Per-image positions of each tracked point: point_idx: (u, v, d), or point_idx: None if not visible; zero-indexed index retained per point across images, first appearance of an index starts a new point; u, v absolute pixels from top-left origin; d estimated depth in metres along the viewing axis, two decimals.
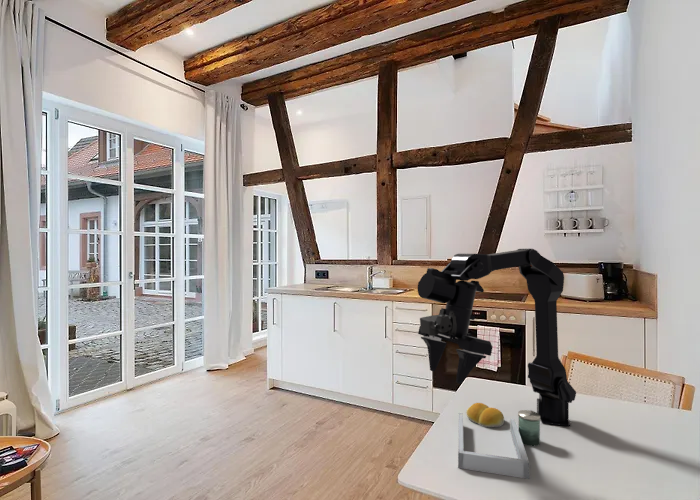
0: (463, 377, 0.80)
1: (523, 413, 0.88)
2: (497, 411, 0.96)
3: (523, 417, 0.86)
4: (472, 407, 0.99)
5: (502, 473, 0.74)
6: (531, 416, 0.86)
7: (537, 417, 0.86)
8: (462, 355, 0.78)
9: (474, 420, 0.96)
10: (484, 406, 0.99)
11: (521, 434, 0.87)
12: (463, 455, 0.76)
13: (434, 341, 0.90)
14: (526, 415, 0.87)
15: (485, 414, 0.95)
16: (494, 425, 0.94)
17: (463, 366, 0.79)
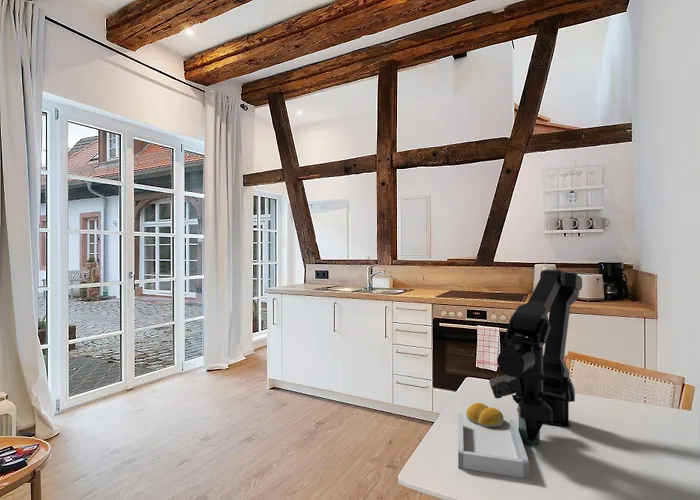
0: (533, 435, 0.84)
1: None
2: (497, 411, 0.96)
3: None
4: (472, 407, 0.99)
5: (502, 473, 0.74)
6: None
7: None
8: None
9: (474, 420, 0.97)
10: (484, 406, 0.99)
11: (521, 434, 0.87)
12: (463, 455, 0.76)
13: None
14: None
15: (484, 413, 0.96)
16: (494, 425, 0.94)
17: (528, 425, 0.84)
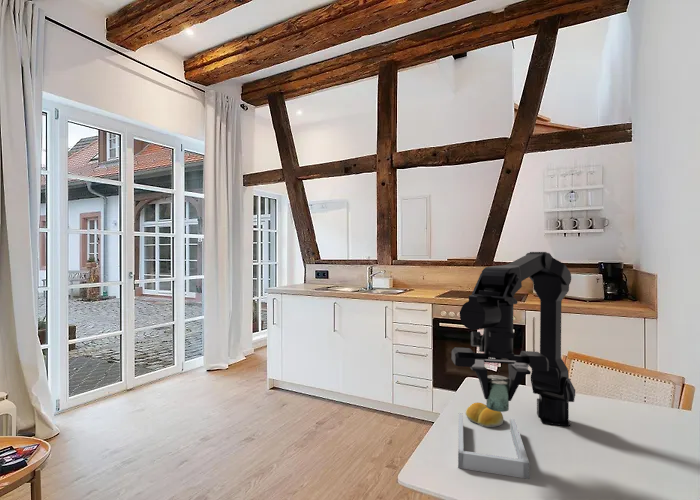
0: (483, 392, 0.81)
1: (496, 376, 0.83)
2: (496, 411, 0.96)
3: None
4: (471, 407, 0.99)
5: (502, 473, 0.74)
6: (492, 378, 0.81)
7: (493, 380, 0.80)
8: None
9: (473, 420, 0.97)
10: (483, 406, 0.99)
11: None
12: (463, 455, 0.76)
13: (511, 367, 0.82)
14: (492, 377, 0.82)
15: (484, 413, 0.96)
16: (493, 425, 0.94)
17: (479, 379, 0.83)
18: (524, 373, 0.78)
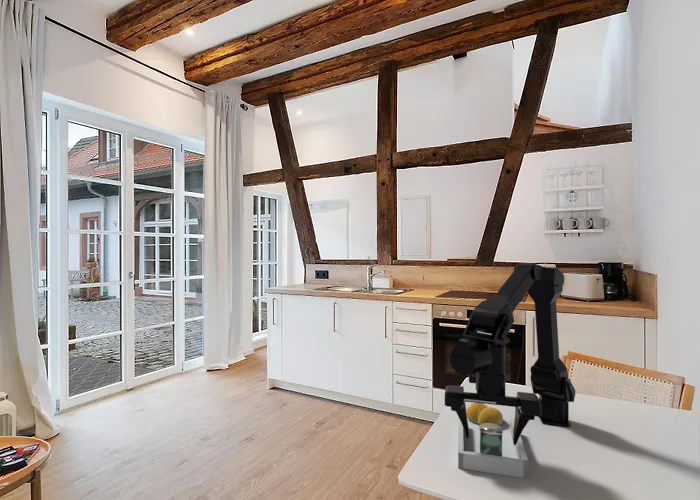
0: None
1: (490, 425, 0.81)
2: (496, 411, 0.96)
3: None
4: (471, 407, 0.99)
5: (502, 473, 0.74)
6: (485, 427, 0.80)
7: (484, 430, 0.79)
8: None
9: (473, 420, 0.97)
10: (483, 406, 0.99)
11: None
12: (463, 455, 0.76)
13: (516, 410, 0.80)
14: (485, 425, 0.81)
15: (484, 413, 0.96)
16: None
17: None
18: (527, 418, 0.76)
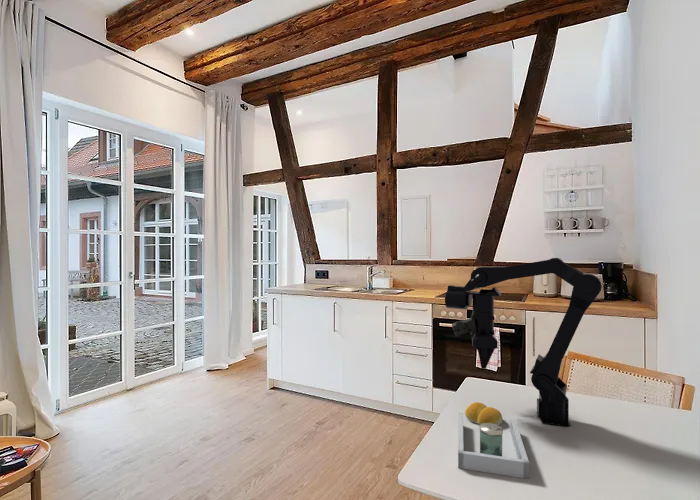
0: (485, 364, 1.05)
1: (490, 425, 0.81)
2: (495, 410, 0.97)
3: None
4: (470, 407, 0.99)
5: (502, 473, 0.74)
6: (485, 427, 0.80)
7: (484, 430, 0.79)
8: (475, 347, 1.05)
9: (472, 420, 0.97)
10: (482, 406, 0.99)
11: None
12: (463, 455, 0.76)
13: None
14: (485, 425, 0.81)
15: (483, 413, 0.96)
16: None
17: (480, 355, 1.05)
18: None
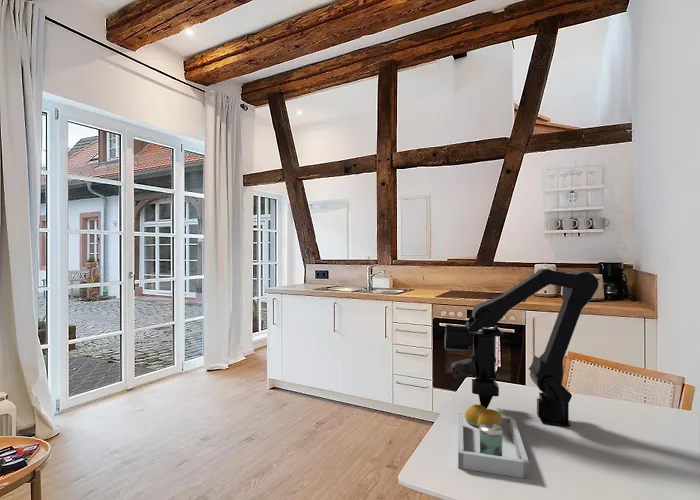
0: (485, 406, 1.01)
1: (490, 425, 0.81)
2: (496, 413, 0.95)
3: None
4: (470, 409, 0.97)
5: (502, 473, 0.74)
6: (485, 427, 0.80)
7: (484, 430, 0.79)
8: None
9: (472, 422, 0.95)
10: (482, 408, 0.97)
11: None
12: (463, 455, 0.76)
13: None
14: (485, 425, 0.81)
15: (484, 416, 0.94)
16: None
17: (480, 397, 1.01)
18: None
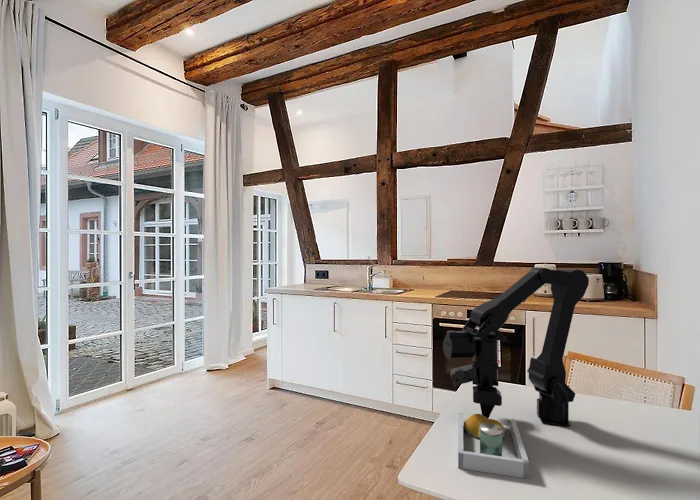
0: (487, 415, 0.95)
1: (490, 425, 0.81)
2: (497, 423, 0.89)
3: None
4: (470, 419, 0.91)
5: (502, 473, 0.74)
6: (485, 427, 0.80)
7: (484, 430, 0.79)
8: None
9: (473, 433, 0.89)
10: (483, 418, 0.92)
11: None
12: (463, 455, 0.76)
13: None
14: (485, 425, 0.81)
15: None
16: None
17: (482, 406, 0.95)
18: None
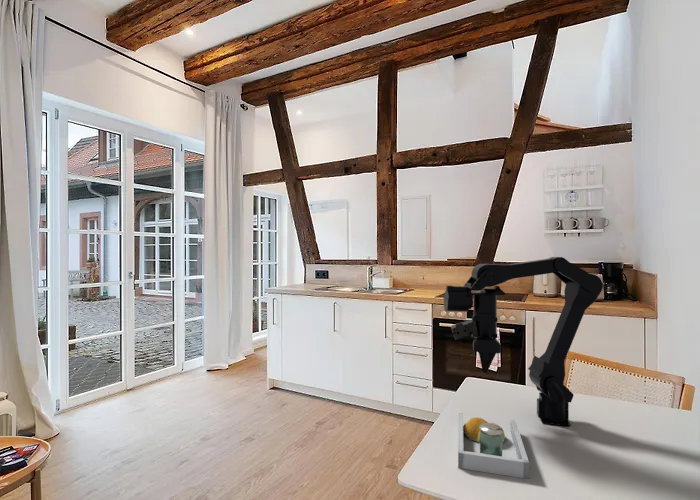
0: (486, 367, 0.99)
1: (490, 425, 0.81)
2: None
3: None
4: (470, 423, 0.90)
5: (502, 473, 0.74)
6: (485, 427, 0.80)
7: (484, 430, 0.79)
8: None
9: (472, 437, 0.87)
10: (483, 421, 0.90)
11: None
12: (463, 455, 0.76)
13: None
14: (485, 425, 0.81)
15: None
16: None
17: (481, 358, 0.98)
18: None
